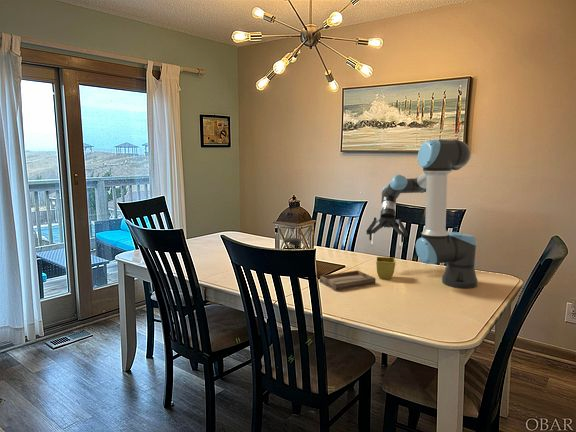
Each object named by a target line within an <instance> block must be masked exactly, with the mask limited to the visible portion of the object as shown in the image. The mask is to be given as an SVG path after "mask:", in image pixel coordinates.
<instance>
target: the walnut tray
mask: <svg viewBox="0 0 576 432" xmlns="http://www.w3.org/2000/svg"><path fill="white" fill-rule="evenodd" d="M319 283H320V284H322V285H324V286H325V287H327V288H329V289H331V290H332V291H334V292H338V291H339V292H340V291H344V290H349V289H350V290H351V289H357V288H363V287H368V286H373V285H375V286H376V277H374V276H372V275H369V274H367V273H365V272H363V271H361V270H357V269H356V270H350V271H344V272H338V273H331V274H324V275H319Z"/></svg>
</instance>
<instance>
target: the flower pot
mask: <svg viewBox="0 0 576 432" xmlns="http://www.w3.org/2000/svg"><path fill="white" fill-rule="evenodd" d="M375 259H376V260H375V262H376V274H377V277H378V278H379V279H382V280H391V279H392V278H393V275H394V273H395V267H396V258H395V257H390V256H376V258H375Z"/></svg>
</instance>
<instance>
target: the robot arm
mask: <svg viewBox="0 0 576 432" xmlns="http://www.w3.org/2000/svg"><path fill="white" fill-rule="evenodd" d="M417 152H418V153H417V162H418V165H419V166H420V167H421V168H422V173H421V174H420V175H419V176H417V177H416V178H414V177H413V178H407V177H406V176H404V175H401V174H396V175H394V176H393V178H392V179H391V180H390V182H389V184H386V185H385V186H383V188H382V191H381V204H380V216H379V218H377V217H375V216H374V218H373V221H372V222H371V223H370V225H369V227H368V228H367V229H366V235H369V236H368V237H369V241H371V242H370V243H371V244H370V247H371V248H373V247H374V238H375V237H374V234H376V232H378V231H379V230H380V229H382V228H389V229H390V228H392V229H393V230H394V231H395V232H396V233H397V234H398V235H399V243H398V244H399V247H398V249H402V243H404V241H405V237H408V234H409V233H408V230H407V229H406V227H405V226H404V224H403V221H402V218H400V217H399V218H398V219H396V209H397V207H396V206H397V199H398V197H400V195H402V194H423V193H425V218H424V221H425V224H424V225H425V226H424V230H423V231H422V232H421V237H419V238H417V240H416V242H415V252H416V254H417V255H416V256H417V257H418V258H419V260H420V262H422V263H424V264H427V265H435V264H445V263H446V267H445V270H444V273H443V275H442V277H441V282H442V284H444V285H445V286H449V287H452V288H457V287H458V289H471V288H470V287H473V288H475V286H476V287H478V281H479V280H478V277H477V273H476V270H475V262H476V250H477V242H476V241H477V238H476V237H475V236H474V235H472V234H469V233H463V232H457V231H449V232H448V231H447V229H446V228H447V227H446V224H447V199H448V198H447V197H448V195H447V194H448V176H449V174H450V173H452V172H454V171H458V170H460V169H462V168H463V167H465V166H466V165H467V164H468V163H469V161H470V159H471V156H472V155H471V154H472V153H471V149H470V147H469V145H468V144H467V143H466V142H464V141H462V140H461V139H460V140H459V139H427V140H426V141H424V142H422V144H421V146H420V147H419V149H418V151H417ZM377 223H378V224H377ZM396 223H397V224H398V226H399V227H398V226H397V224H396ZM376 224H377V225H376Z"/></svg>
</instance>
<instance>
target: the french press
mask: <svg viewBox="0 0 576 432" xmlns="http://www.w3.org/2000/svg"><path fill="white" fill-rule="evenodd" d="M289 229H291V230H292V229H294V230H296V228H289ZM291 232H292V231H291ZM291 234H292V236H291V237H292V238H289V237H284V238H283V241H284V243H285V244H286V243H289V244H290V245H292V246H291V247H292V248H286V247H284V248H283V250H284V249H289V250H292V249H293V250H295V249H294V248H293V247H294V246H299V245H301V243H302V240H303V238H301V239H298V238H299V237H296V238H293V237H294V231H293V232H292V233H291ZM302 248H303V247H302ZM302 248H297V249H302Z"/></svg>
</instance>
